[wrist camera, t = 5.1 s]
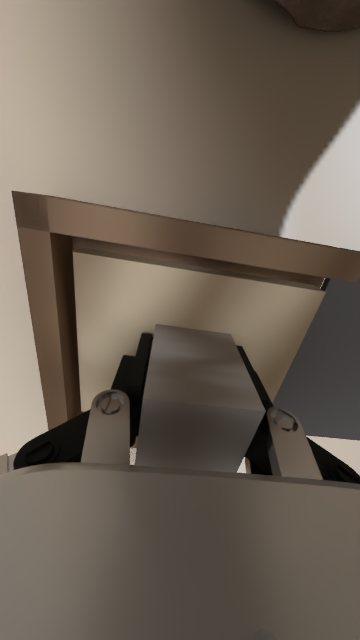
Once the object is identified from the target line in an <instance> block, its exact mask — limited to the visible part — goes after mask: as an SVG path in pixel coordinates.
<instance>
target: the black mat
mask: <svg viewBox="0 0 360 640" xmlns="http://www.w3.org/2000/svg"><path fill="white" fill-rule="evenodd" d="M341 249H343V248H341ZM346 250H348V249H346ZM350 251H355V250H350ZM355 252H359V253H360V251H355ZM321 290H323V291H325V292H326V293H325V295H324V297H323V299H322V301H321V304H320V306H319V308H318V310H317V312H316V314H315V316H314V318H313V320H312V322H311V324H310V326H309V328H308V330H307V332H306V334H305V337H304V339H303V341H302V343H301V345H300V347H299V349H298V351H297V353H296V355H295V357H294V359H293V361H292V363H291V365H290V368H289V370H288V372H287V374H286V376H285V378H284V380H283V382H282V384H281V386H280V388H279V390H278V392H277V394H276V396H275V399H274V401H273V403H272V404H273V406H274V407H281V408H284V409H286V410H288V411H290V412H291V413H292V414H294V415H295V416H296V417H297V419H298V420H299V421H300V423H301V425H302V428H303V430H304V433H305V435H308V436H319V437H329V438H340V439H351V440H360V276H359V278H358V280H357V282H356V283H355V282H349V281H343V280H337V279H331V278H325V280H324V282H323V285H322V287H321Z"/></svg>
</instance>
